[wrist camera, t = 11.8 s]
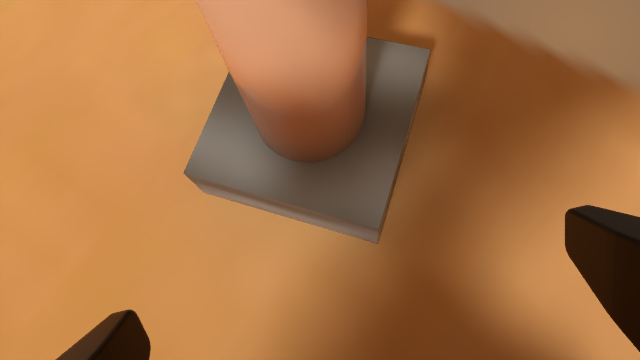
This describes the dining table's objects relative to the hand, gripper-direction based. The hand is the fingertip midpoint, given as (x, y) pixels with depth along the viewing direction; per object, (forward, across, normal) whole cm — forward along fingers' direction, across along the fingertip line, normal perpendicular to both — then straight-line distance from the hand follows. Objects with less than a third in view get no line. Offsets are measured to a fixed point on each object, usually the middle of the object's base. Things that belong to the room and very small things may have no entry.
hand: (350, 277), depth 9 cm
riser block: (+17, 0, +2) cm, 17 cm away
